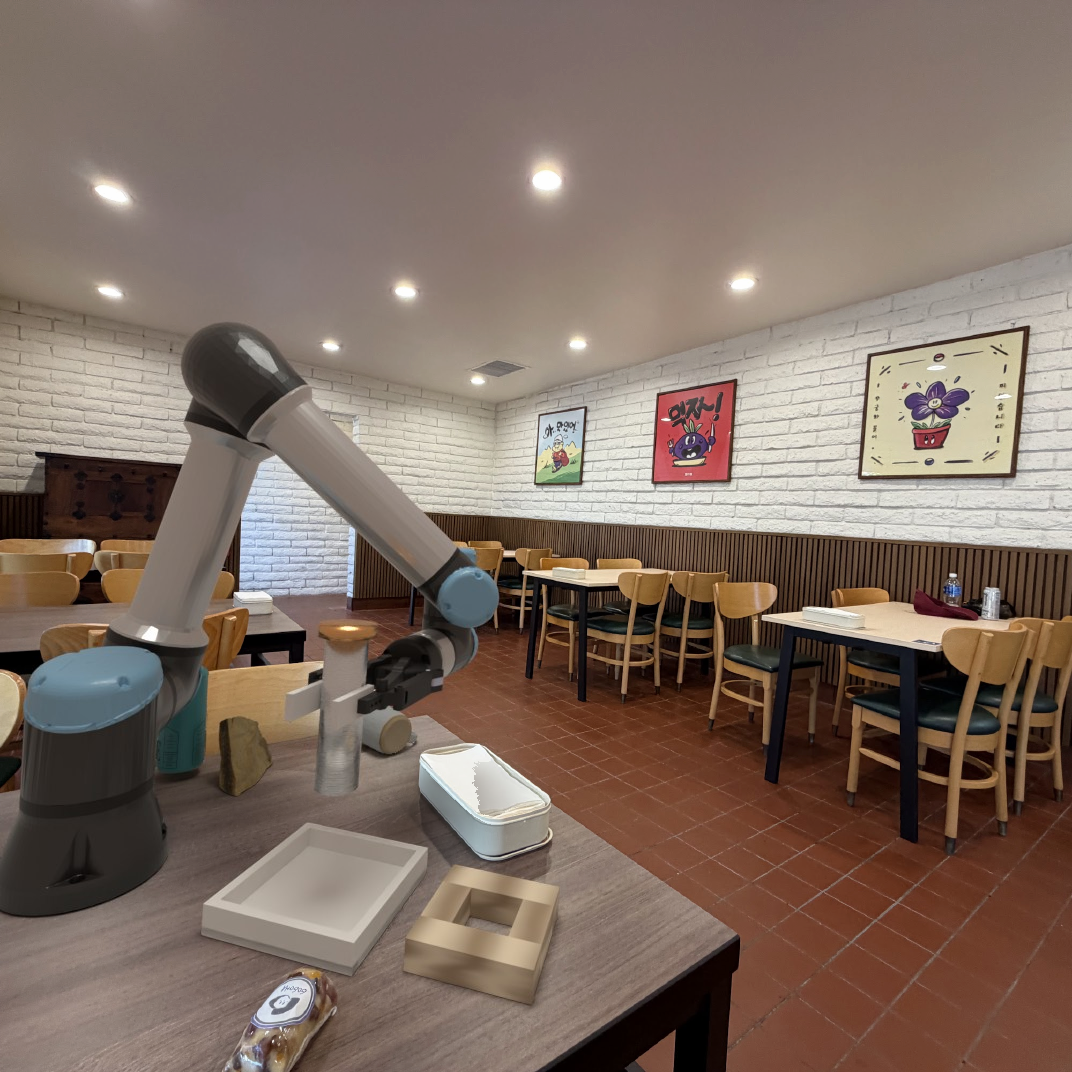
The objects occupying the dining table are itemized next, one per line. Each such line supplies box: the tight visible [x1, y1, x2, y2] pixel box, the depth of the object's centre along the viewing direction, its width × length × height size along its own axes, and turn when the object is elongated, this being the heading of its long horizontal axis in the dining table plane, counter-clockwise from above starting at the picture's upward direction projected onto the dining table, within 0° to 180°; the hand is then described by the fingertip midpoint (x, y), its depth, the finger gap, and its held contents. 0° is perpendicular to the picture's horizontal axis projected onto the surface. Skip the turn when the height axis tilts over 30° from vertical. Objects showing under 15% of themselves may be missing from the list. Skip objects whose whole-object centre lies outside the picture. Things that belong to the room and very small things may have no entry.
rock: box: [218, 715, 274, 797], centre depth 86 cm, size 11×9×10 cm
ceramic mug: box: [361, 706, 419, 755], centre depth 102 cm, size 11×8×8 cm
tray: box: [200, 822, 429, 977], centre depth 60 cm, size 16×16×3 cm
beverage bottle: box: [155, 665, 210, 774], centre depth 86 cm, size 6×7×20 cm
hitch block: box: [402, 864, 561, 1006], centre depth 56 cm, size 12×12×3 cm
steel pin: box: [313, 618, 379, 797], centre depth 60 cm, size 6×6×17 cm
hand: (311, 711), depth 54 cm, fingers closed on steel pin, 4 cm apart
